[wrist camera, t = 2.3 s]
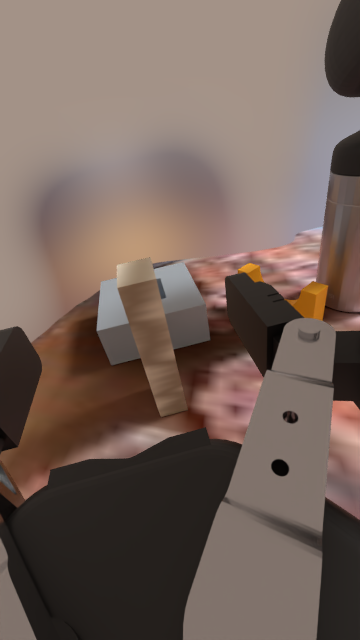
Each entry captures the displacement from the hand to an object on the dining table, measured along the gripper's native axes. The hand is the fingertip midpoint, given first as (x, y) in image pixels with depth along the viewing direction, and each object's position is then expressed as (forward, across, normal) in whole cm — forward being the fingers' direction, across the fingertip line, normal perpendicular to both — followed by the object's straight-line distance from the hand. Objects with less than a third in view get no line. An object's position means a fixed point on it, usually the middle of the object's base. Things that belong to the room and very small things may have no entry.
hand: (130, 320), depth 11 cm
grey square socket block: (+27, 0, +19) cm, 33 cm away
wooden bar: (+12, 0, +19) cm, 23 cm away
